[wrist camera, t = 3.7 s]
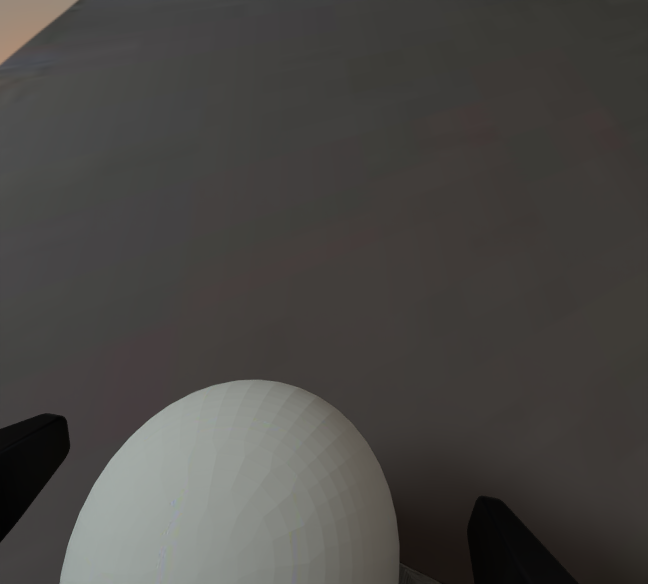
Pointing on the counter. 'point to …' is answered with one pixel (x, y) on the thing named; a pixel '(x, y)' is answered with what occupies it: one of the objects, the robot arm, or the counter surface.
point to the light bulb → (239, 497)
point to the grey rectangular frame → (413, 576)
